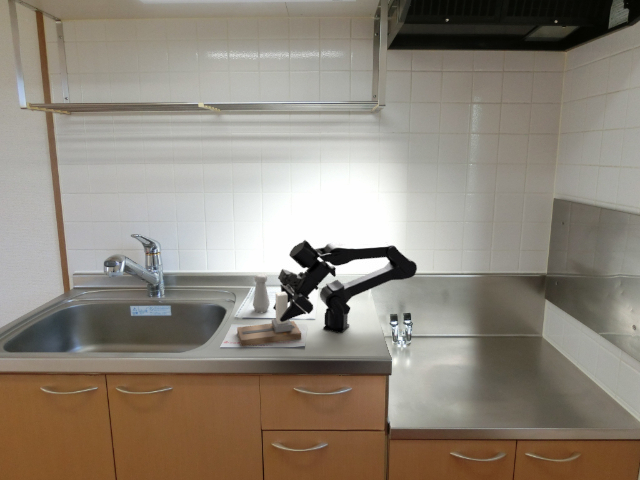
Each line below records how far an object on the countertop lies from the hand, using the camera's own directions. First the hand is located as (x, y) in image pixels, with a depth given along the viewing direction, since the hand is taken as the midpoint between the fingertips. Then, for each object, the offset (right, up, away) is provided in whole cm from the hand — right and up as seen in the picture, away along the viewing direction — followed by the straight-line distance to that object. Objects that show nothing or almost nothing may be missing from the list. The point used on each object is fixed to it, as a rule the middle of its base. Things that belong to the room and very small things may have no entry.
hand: (277, 314), depth 134 cm
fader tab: (+1, -4, +1) cm, 5 cm away
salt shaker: (-8, -2, +20) cm, 22 cm away
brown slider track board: (-3, -7, +1) cm, 7 cm away
